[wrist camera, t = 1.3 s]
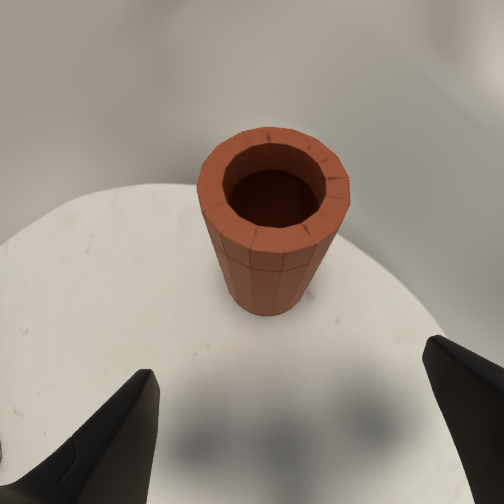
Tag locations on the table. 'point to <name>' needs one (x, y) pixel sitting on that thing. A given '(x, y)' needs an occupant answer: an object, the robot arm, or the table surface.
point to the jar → (271, 213)
